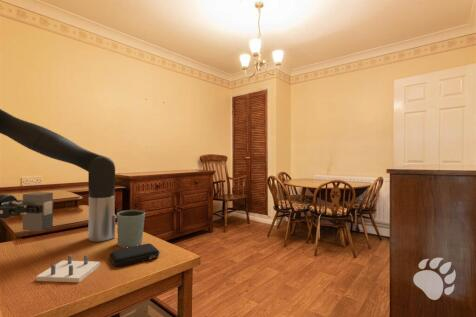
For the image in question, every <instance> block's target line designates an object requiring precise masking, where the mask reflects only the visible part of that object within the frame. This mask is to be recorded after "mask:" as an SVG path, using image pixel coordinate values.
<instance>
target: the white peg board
mask: <svg viewBox="0 0 476 317" xmlns="http://www.w3.org/2000/svg"><path fill="white" fill-rule="evenodd" d="M100 266H101V261H89V255H88V254H85V255H83V260H73V256H72V254H67V260H65V259H63V260H61V261H58V262H57V263H55V264H51V265H50V267H49V268H48V269H46V270H45V271H42V272H41V273H39V274H38V275H36V276H35V281H36V282H58V283H59V282H61V283H62V282H63V283H81V282H82V281H83V280H84V279H85V278H86V277H88V276H89V275H90V274H92V273H93V272H94V271H95V270H97V269H98V268H100Z"/></svg>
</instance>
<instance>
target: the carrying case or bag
mask: <svg viewBox="0 0 476 317" xmlns="http://www.w3.org/2000/svg"><path fill="white" fill-rule="evenodd" d="M160 254H161V253H160V250H159V249H158V248H157V247H155V246H154V244H152V243H144V244H140V245H138V246H133V247H128V248H123V247H122V248H120V249H116V250H113V251H111V253H109V255H108V257H109V259H110V261H111V263H112V264H113V265H114V266H115V267H117V268H119V267H120V268H121V267H125V266H130V265H133V264H139V263H140V262H141V263H142V262H145V261H151V260H153V259H156V258H158V256H159V255H160Z"/></svg>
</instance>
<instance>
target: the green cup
mask: <svg viewBox="0 0 476 317" xmlns="http://www.w3.org/2000/svg"><path fill="white" fill-rule="evenodd" d="M145 217H146V212H145V211H144V210H139V209H129V210H122V211H119V212H117V213H116V222H117V228H116V230H117V245H118V247H120V248H123V247H133V246H137V245H142V243H143V234H144V227H145Z"/></svg>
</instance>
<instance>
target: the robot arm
mask: <svg viewBox="0 0 476 317" xmlns="http://www.w3.org/2000/svg"><path fill="white" fill-rule="evenodd" d="M0 134H2V135H3V136H5V137H8V138H10V139H11V140H12V141H15V142H16V143H18V144H19V145H21V146H23V147H24V148H25V147H26V148H27V149H28V150H31V151H34V152H36V153H37V154H39V155H42V156H44V157H47V158H50V159H54V160H57V161H59V162H64V163H68V164H71V165H74V166H76V167H77V168H80V169H82V170H83V171H86V172H88V179H87V180H88V181H87V182H88V185H87V186H88V225H87V226H88V227H87V228H88V230H87V231H88V232H87V237H88V241H90V242H103V241H104V242H105V241H108V240H112V239H115V238H116V214H115V202H116V201H115V194H116V192H115V190H116V165H115V163H114V160H112V159H111V158H110V157H107V156H105V155H101V154H98V153H95V152H93V151H90V150H88V149H85V148H83V147H81V145H78V144H77V143H75V142H73V141H71V140H70V139H68V138H66V137H64V136H63V135H61V134H60V133H57V132H55V131H53V130H50V129H48V128H46V127H44V126H41V125H38V124H35V123H33V122H30V121H27V120H23V119H22V118H21V119H20V118H18V117H16V116H14V115H12V114H10V113H9V112H6V111H4V109H1V108H0ZM54 204H55V203H54V202H53V210H54V208H55V207H54V206H55V205H54ZM41 212H42V207H41V206H28V205H23V198H22V199H17V198H16V197H15V196H14V195H12V194H7V193H6V194H5V193H4V194H2V193H1V194H0V220H7V219H10V218H11V217H15V216H20V215H23V214H28V213H36V214H39V213H41Z"/></svg>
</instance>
